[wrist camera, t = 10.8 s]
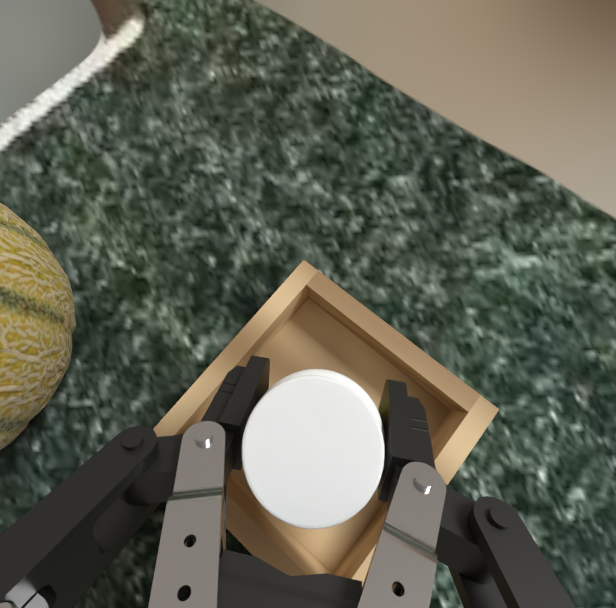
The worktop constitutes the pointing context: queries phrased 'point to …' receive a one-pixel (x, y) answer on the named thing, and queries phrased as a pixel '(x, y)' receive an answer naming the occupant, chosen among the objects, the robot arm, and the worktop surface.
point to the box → (362, 370)
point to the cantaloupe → (30, 324)
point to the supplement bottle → (314, 449)
